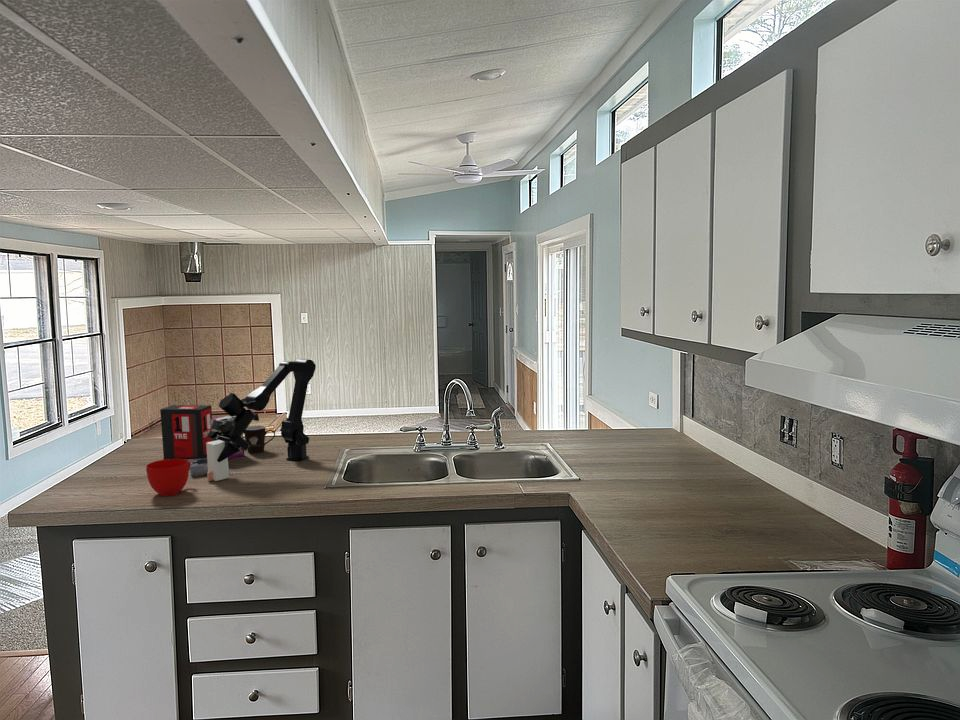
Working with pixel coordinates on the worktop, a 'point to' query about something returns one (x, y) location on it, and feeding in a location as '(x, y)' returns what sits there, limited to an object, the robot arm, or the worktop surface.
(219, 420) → the candy bar box
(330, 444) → the worktop surface
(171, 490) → the ceramic cup
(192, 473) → the keyed socket block
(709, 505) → the worktop surface
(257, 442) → the coffee mug
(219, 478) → the keyed peg
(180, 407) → the cleaning product box
